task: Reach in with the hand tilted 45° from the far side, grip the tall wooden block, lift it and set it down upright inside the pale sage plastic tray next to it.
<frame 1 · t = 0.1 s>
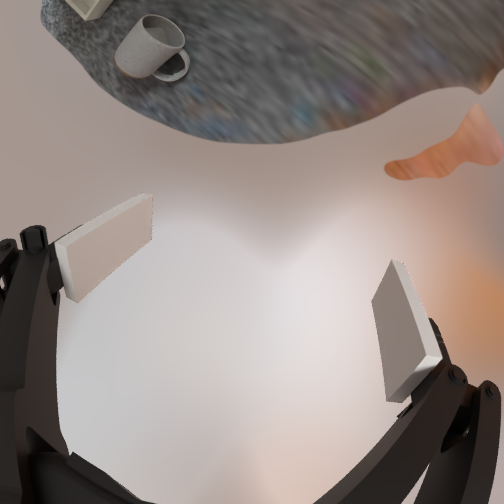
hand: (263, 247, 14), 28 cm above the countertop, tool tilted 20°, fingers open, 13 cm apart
ceramic mug: (168, 48, 31), on the countertop
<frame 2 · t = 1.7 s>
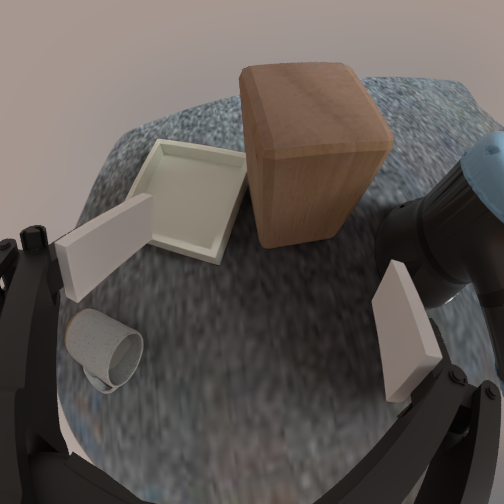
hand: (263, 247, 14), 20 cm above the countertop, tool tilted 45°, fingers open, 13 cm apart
ceramic mug: (116, 355, 31), on the countertop
sage tray: (187, 201, 37), on the countertop
wooden block: (291, 210, 36), on the countertop
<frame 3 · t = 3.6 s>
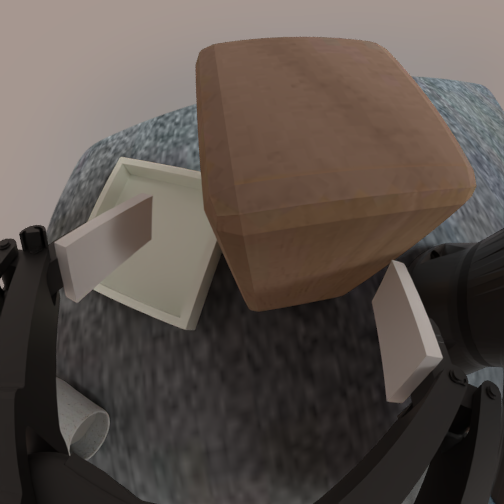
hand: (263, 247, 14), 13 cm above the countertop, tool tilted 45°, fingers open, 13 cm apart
ceramic mug: (83, 420, 23), on the countertop
sage tray: (156, 240, 28), on the countertop
wooden block: (290, 256, 27), on the countertop, touching gripper
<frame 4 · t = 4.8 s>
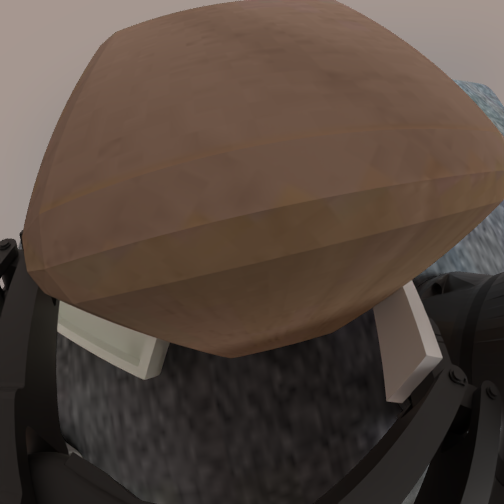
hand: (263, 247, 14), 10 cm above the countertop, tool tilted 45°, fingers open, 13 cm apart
sage tray: (117, 274, 24), on the countertop
wooden block: (267, 290, 23), on the countertop
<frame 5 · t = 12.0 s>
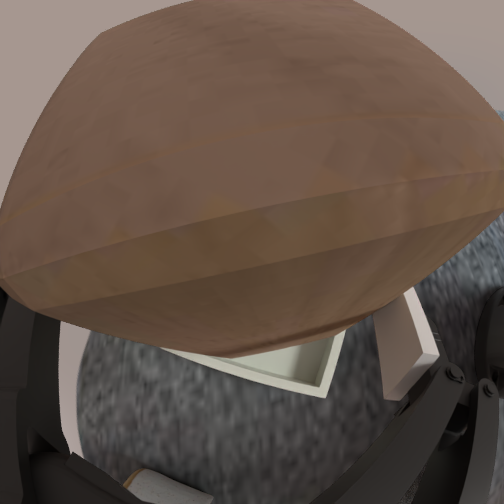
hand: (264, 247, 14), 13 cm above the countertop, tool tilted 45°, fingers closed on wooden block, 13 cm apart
ceramic mug: (174, 499, 20), on the countertop
sage tray: (266, 299, 26), on the countertop
wooden block: (270, 290, 23), point 4 cm above the countertop, touching gripper, sage tray
when the fingers open (13 cm above the countertop, at t = 13.0 s): wooden block drops 2 cm, resting on sage tray.
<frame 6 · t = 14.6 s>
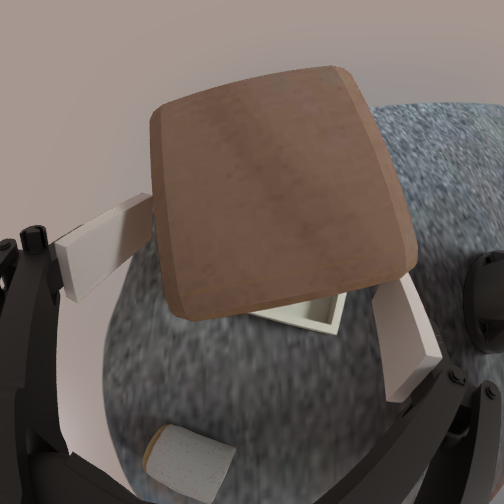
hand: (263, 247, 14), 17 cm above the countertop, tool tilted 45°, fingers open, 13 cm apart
ceramic mug: (195, 458, 25), on the countertop
sage tray: (281, 255, 31), on the countertop
wooden block: (285, 246, 29), point 2 cm above the countertop, touching sage tray
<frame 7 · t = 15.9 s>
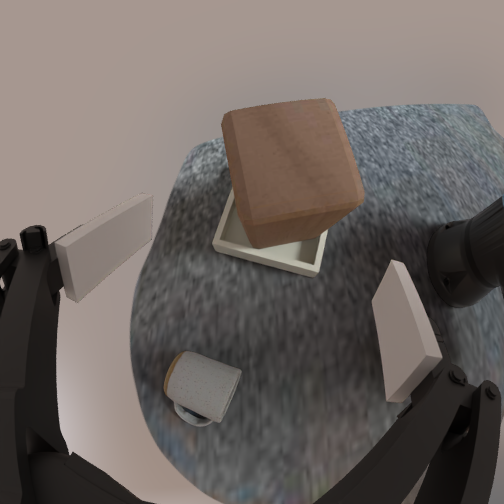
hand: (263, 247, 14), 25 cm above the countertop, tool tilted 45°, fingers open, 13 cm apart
ceramic mug: (206, 389, 35), on the countertop
sage tray: (277, 219, 41), on the countertop
wooden block: (279, 210, 40), point 2 cm above the countertop, touching sage tray
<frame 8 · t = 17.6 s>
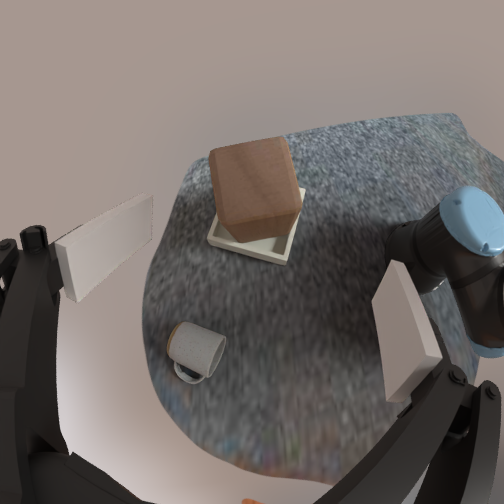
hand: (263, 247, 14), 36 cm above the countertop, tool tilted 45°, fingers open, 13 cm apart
ceramic mug: (200, 354, 46), on the countertop
sage tray: (258, 220, 53), on the countertop
wooden block: (259, 213, 51), point 2 cm above the countertop, touching sage tray
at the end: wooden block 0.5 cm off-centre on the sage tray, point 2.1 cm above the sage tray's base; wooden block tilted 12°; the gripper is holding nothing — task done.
